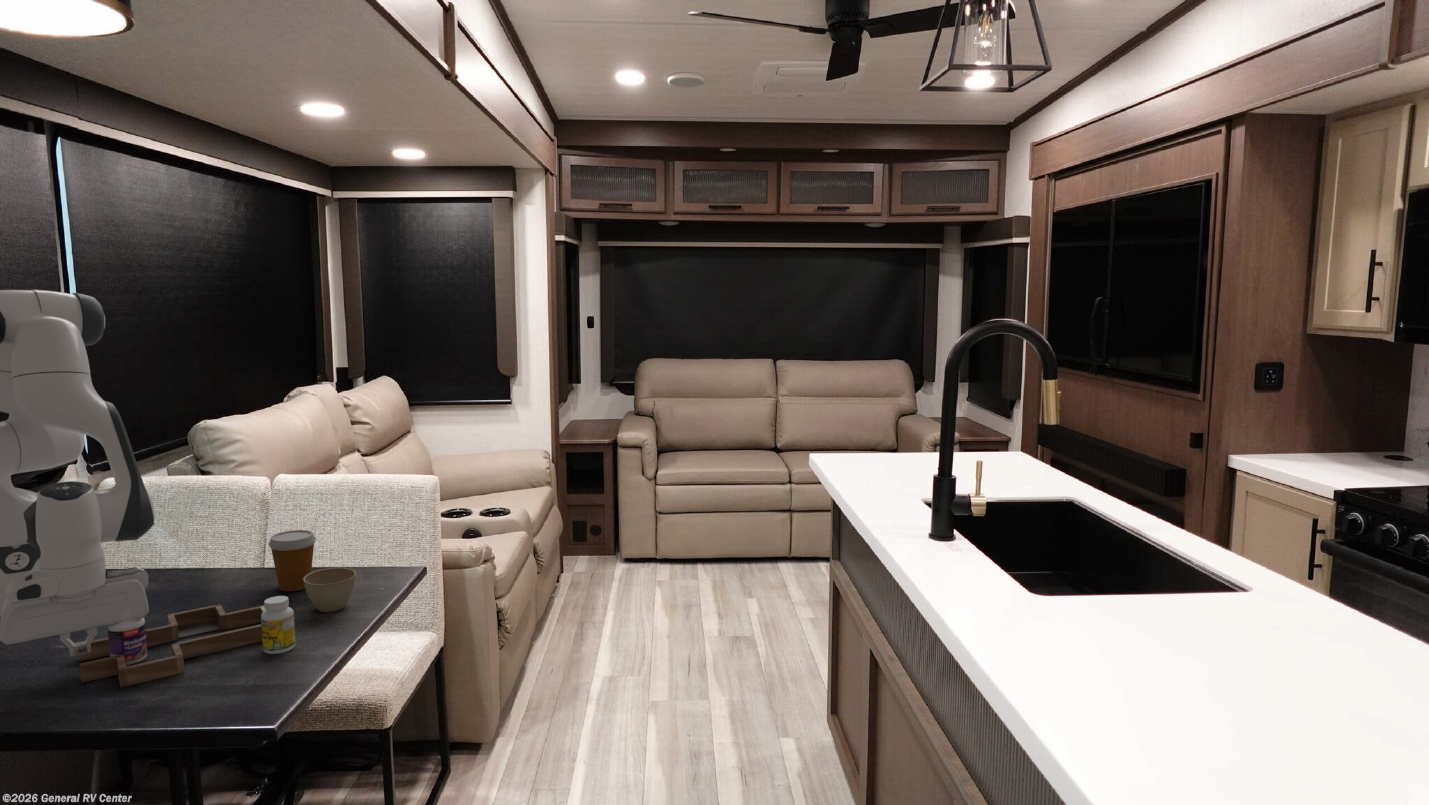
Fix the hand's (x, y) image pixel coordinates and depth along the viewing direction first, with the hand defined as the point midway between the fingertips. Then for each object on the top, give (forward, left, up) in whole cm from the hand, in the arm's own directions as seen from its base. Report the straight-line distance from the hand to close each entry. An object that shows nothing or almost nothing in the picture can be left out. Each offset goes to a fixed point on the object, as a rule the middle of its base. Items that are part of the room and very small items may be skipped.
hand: (80, 653), depth 139 cm
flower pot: (-4, +42, -3) cm, 42 cm away
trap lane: (0, +16, -3) cm, 16 cm away
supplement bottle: (+11, +29, -3) cm, 31 cm away
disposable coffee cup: (-22, +39, -3) cm, 45 cm away
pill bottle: (0, +7, -3) cm, 8 cm away
